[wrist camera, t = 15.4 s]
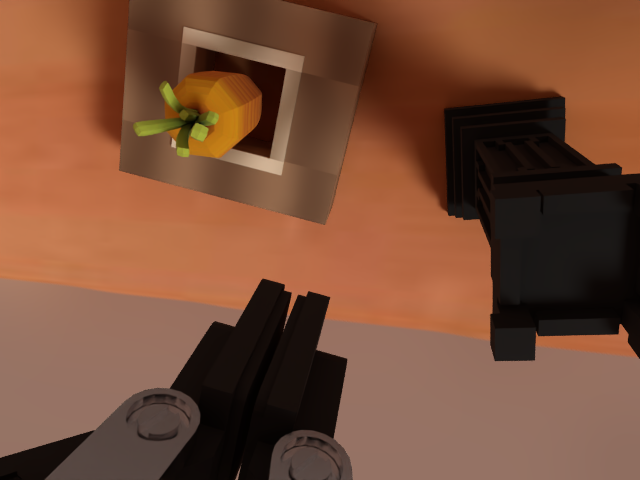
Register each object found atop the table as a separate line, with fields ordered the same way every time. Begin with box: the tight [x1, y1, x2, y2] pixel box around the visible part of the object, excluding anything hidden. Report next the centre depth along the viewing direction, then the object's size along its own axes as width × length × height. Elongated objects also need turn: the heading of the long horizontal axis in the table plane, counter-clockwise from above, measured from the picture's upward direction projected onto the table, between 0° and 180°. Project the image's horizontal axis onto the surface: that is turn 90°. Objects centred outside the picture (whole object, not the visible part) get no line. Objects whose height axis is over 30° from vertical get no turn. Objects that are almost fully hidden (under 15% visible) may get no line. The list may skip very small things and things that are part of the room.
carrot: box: [133, 71, 262, 158], centre depth 32 cm, size 5×5×15 cm
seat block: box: [119, 0, 377, 225], centre depth 37 cm, size 16×14×4 cm
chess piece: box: [444, 97, 640, 361], centre depth 29 cm, size 8×8×20 cm
